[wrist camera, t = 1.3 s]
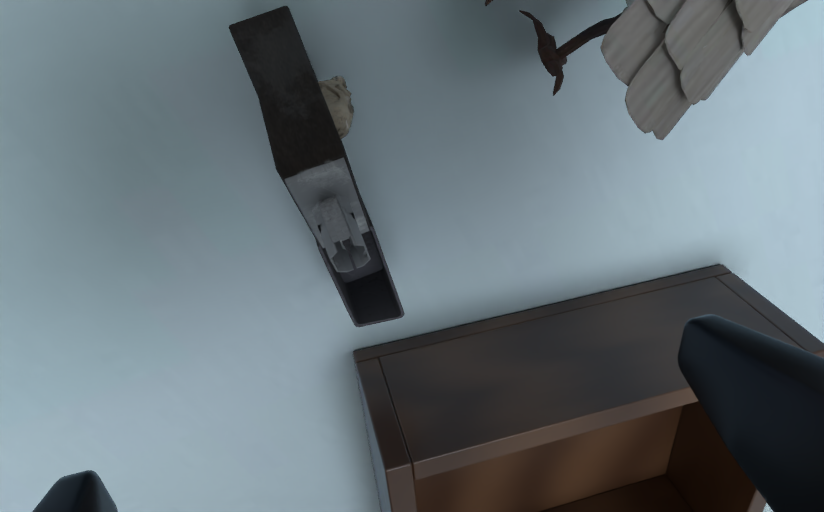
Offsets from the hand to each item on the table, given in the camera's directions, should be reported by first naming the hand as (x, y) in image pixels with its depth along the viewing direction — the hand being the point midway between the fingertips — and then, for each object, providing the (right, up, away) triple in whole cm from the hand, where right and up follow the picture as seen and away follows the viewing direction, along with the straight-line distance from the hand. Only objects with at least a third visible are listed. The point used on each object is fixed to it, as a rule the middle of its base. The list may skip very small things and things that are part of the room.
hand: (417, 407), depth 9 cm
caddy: (+5, -5, +16) cm, 18 cm away
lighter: (-2, +5, +8) cm, 10 cm away
